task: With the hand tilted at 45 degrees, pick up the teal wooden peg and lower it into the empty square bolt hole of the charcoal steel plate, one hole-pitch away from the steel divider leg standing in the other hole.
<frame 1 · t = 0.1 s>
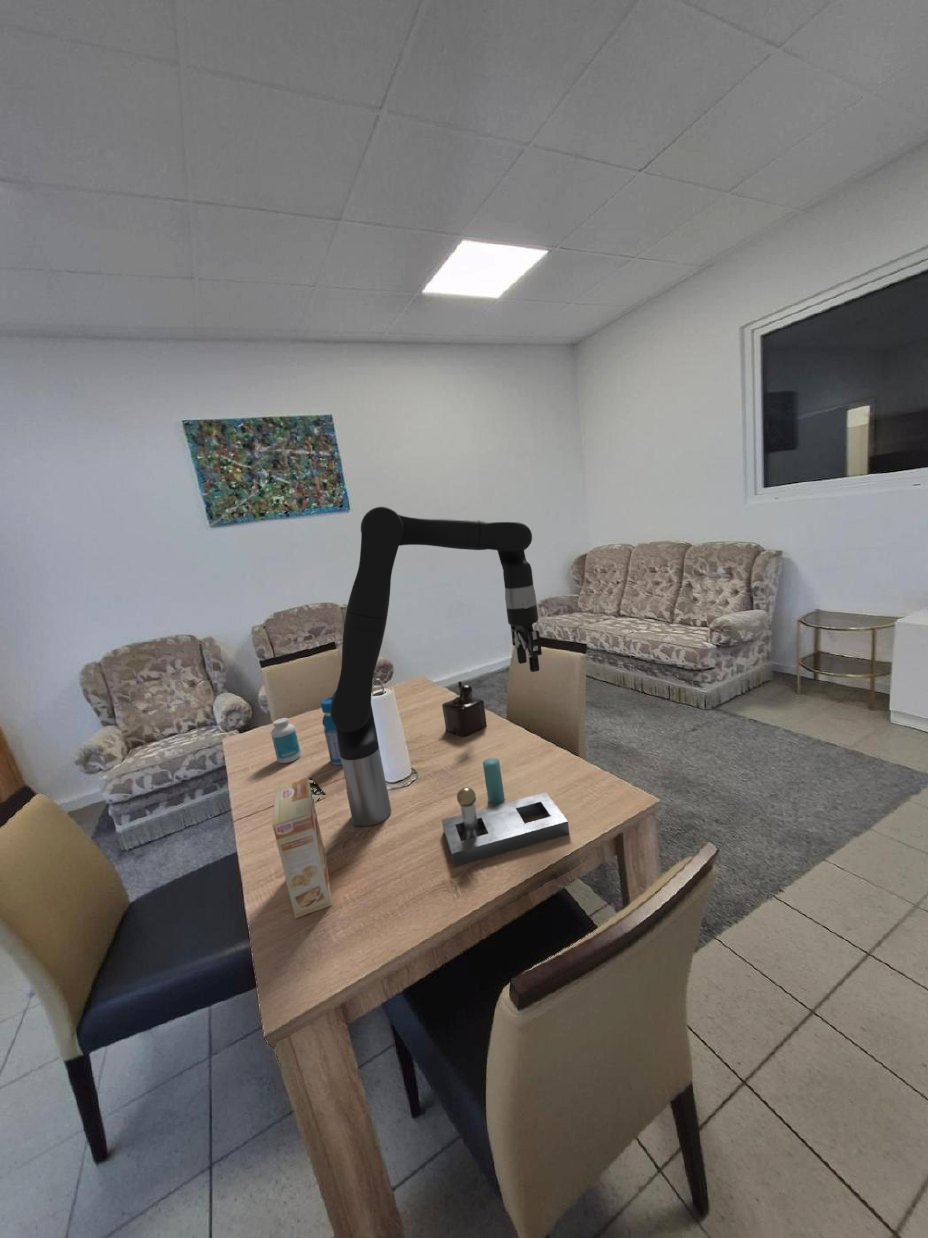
hand: (528, 666, 121), 29 cm above the table, tool pointing down, fingers open, 8 cm apart
pill bottle: (289, 759, 157), on the table
beverage bottle: (344, 759, 151), on the table
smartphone: (306, 794, 134), on the table
teal peg: (496, 799, 116), on the table
coffeecake box: (312, 887, 96), on the table
hole plate: (504, 832, 104), on the table
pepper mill: (470, 731, 158), on the table
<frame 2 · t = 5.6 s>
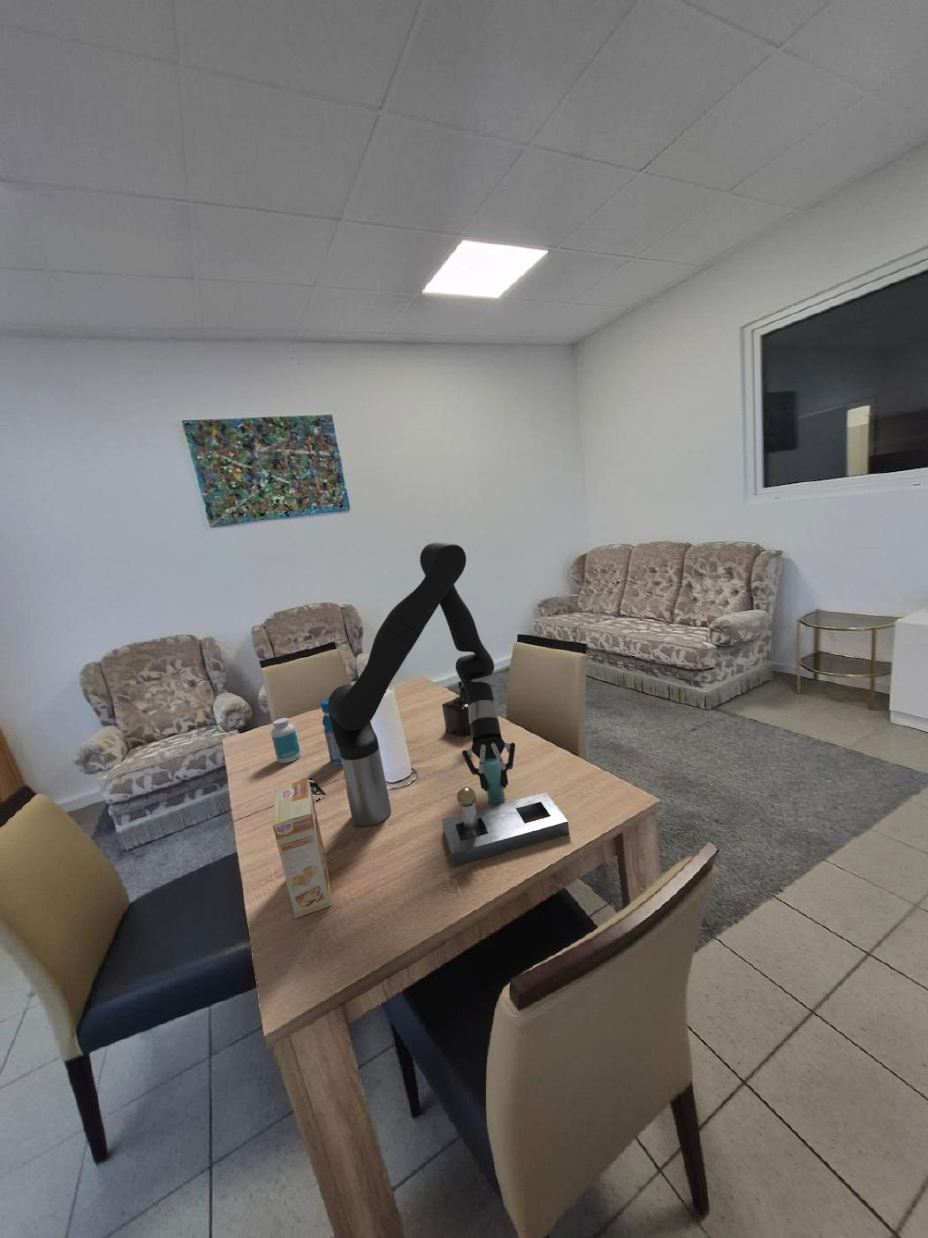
hand: (495, 788, 114), 4 cm above the table, tool tilted 45°, fingers closed on teal peg, 4 cm apart
teal peg: (496, 799, 116), on the table, touching gripper
everything else where it was.
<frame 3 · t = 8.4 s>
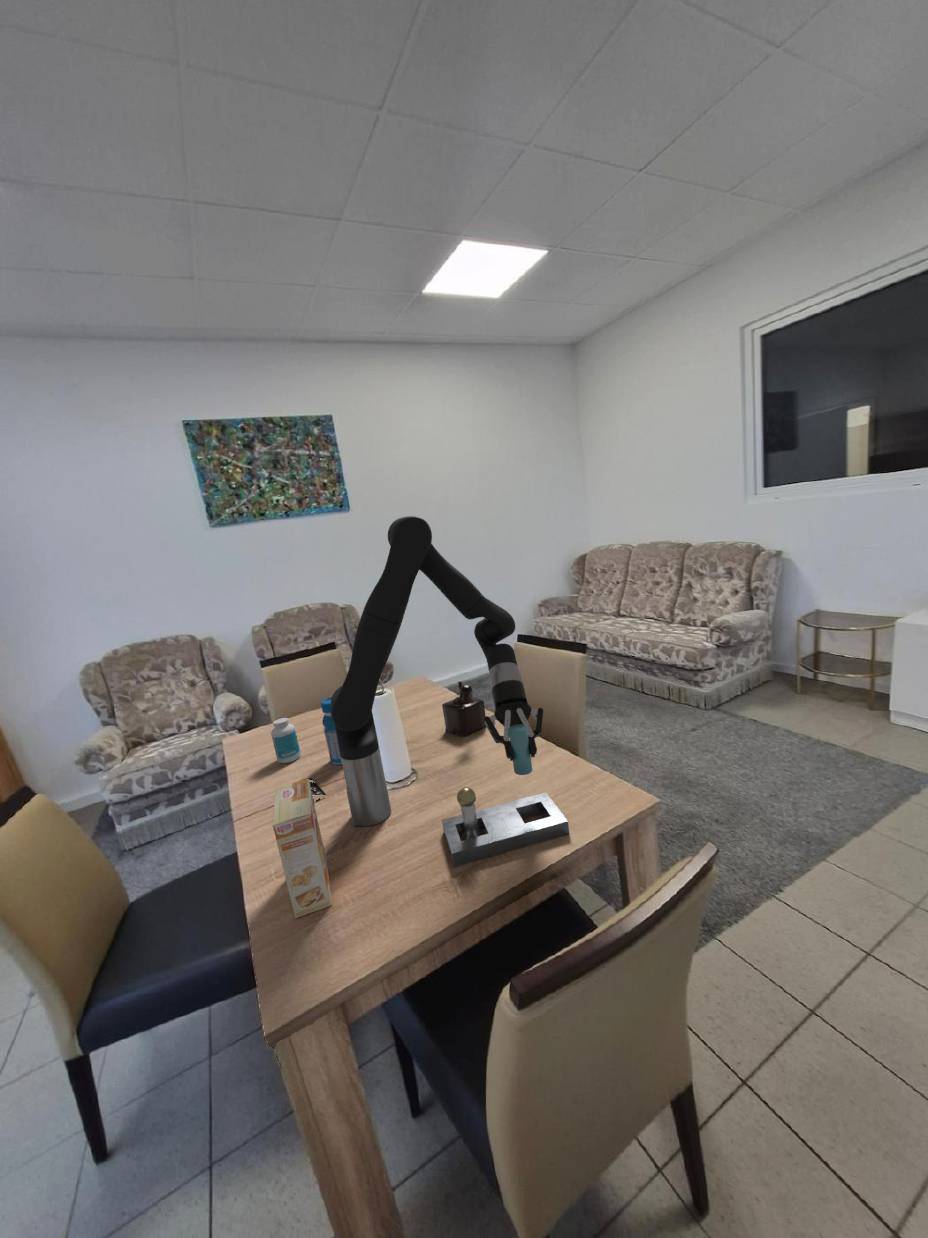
hand: (522, 757, 102), 16 cm above the table, tool tilted 45°, fingers closed on teal peg, 4 cm apart
teal peg: (523, 770, 105), point 12 cm above the table, touching gripper
everything else where it was.
when the fingers open (6 cm above the table, at t = 11.3 s): teal peg drops 2 cm, resting in hole plate.
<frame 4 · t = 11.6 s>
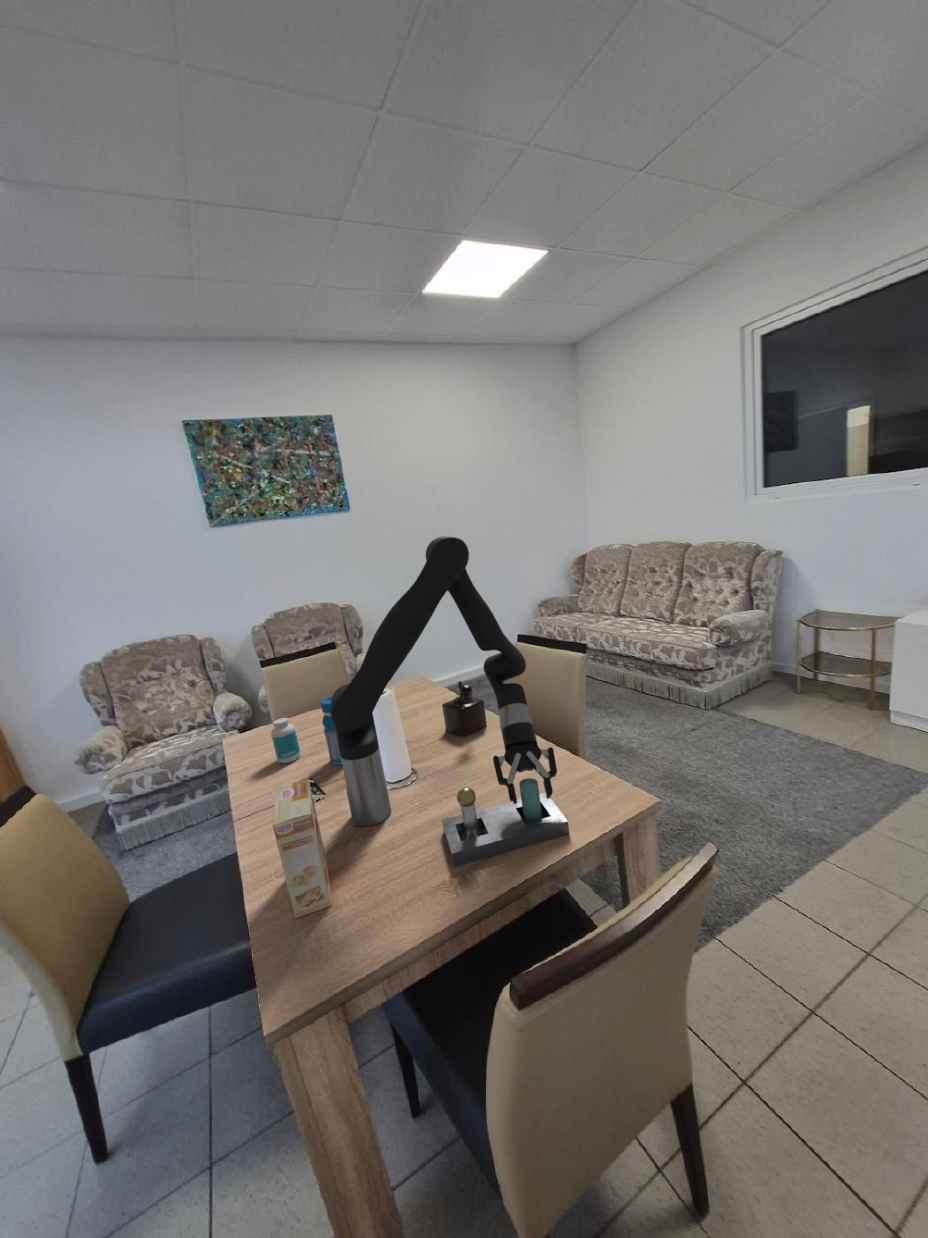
hand: (532, 800, 102), 7 cm above the table, tool tilted 45°, fingers open, 6 cm apart
teal peg: (534, 824, 105), resting in hole plate
everything else where it was.
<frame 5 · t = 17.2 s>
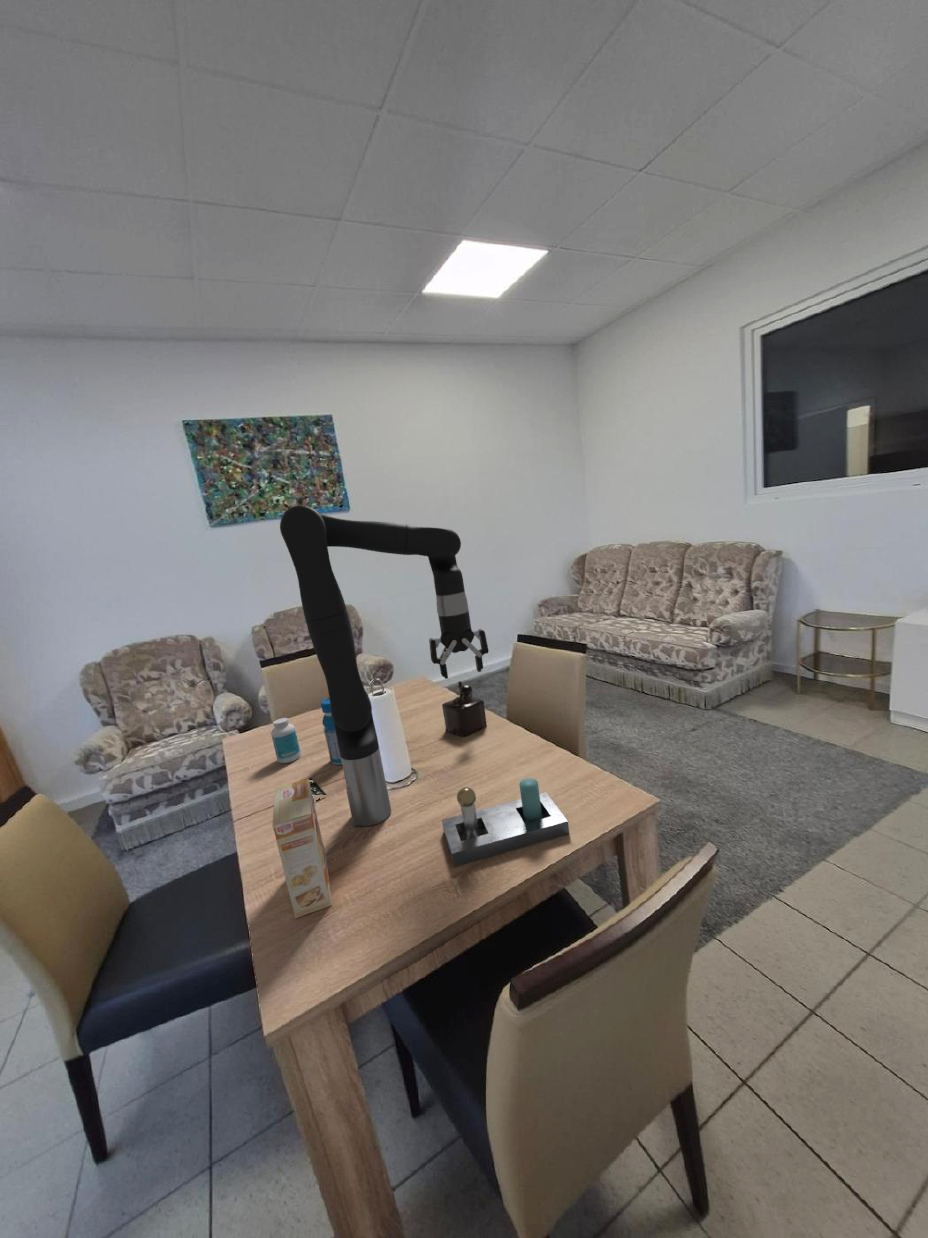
hand: (462, 674, 119), 30 cm above the table, tool pointing down, fingers open, 8 cm apart
nothing on the table moved.
at the end: teal peg 0.1 cm from the target spot on the hole plate, point 0.0 cm above the hole plate's base; teal peg tilted 1°; the gripper is holding nothing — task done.
